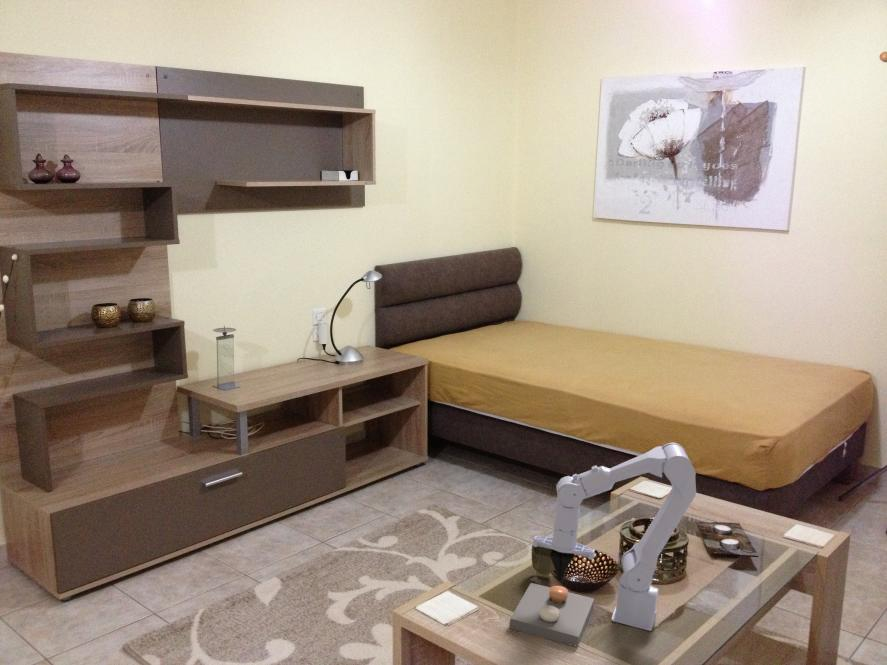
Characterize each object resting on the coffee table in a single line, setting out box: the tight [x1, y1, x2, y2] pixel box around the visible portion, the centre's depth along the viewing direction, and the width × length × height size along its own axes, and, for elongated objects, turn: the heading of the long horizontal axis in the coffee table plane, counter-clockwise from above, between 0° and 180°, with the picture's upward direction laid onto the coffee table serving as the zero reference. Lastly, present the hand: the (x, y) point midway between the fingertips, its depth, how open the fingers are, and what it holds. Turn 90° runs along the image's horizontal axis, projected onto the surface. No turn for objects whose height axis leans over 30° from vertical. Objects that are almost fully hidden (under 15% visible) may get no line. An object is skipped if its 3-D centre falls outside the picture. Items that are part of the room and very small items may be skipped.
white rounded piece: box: [539, 605, 559, 623], centre depth 190 cm, size 4×4×4 cm
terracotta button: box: [549, 585, 569, 604], centre depth 198 cm, size 4×4×4 cm
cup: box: [530, 544, 556, 580], centre depth 212 cm, size 8×7×8 cm
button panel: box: [509, 582, 595, 647], centre depth 194 cm, size 16×18×2 cm
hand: (560, 579), depth 197 cm, fingers closed
